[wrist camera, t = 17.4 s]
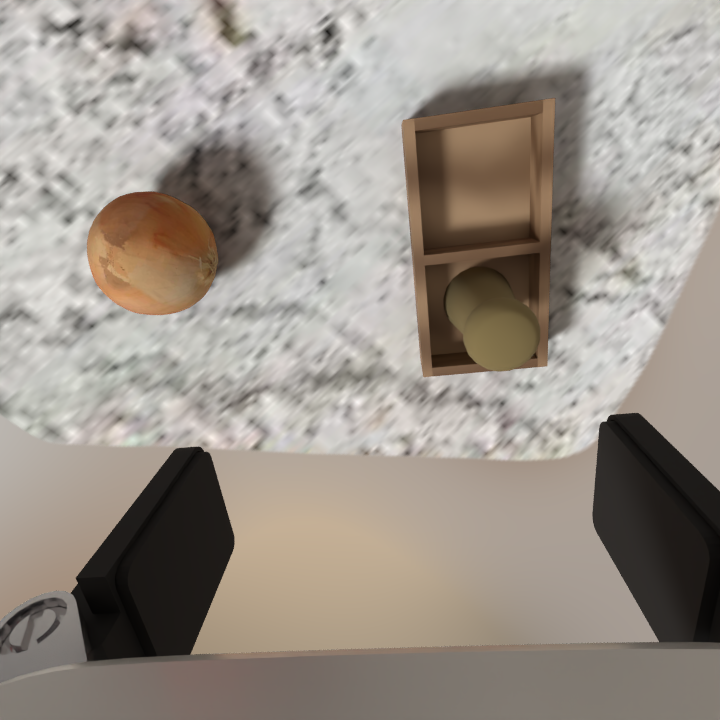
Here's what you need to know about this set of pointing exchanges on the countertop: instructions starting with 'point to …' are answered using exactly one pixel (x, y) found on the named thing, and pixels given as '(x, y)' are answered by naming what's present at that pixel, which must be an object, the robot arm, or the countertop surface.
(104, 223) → the onion
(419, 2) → the countertop surface
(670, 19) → the countertop surface
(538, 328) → the cork
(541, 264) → the wooden divided tray
